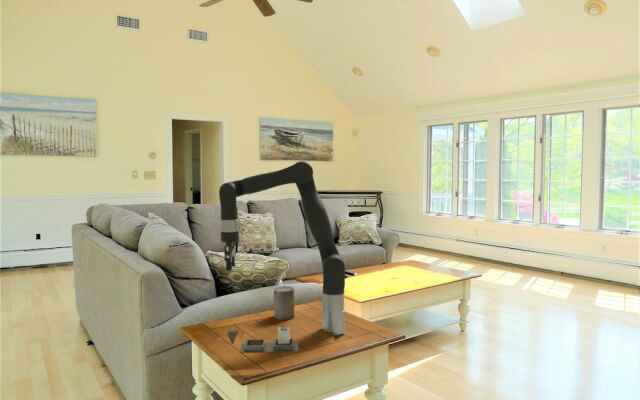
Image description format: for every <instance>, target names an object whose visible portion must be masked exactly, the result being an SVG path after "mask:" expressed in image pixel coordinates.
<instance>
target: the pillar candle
mask: <svg viewBox="0 0 640 400" xmlns="http://www.w3.org/2000/svg"><path fill="white" fill-rule="evenodd" d="M273 308H274V309H273V311H274V312H273V313H274V316H273V317H274V318H275V319H276V320H279V321H287V320H290V319H293V318H295V288H294V287H293V286H290V285H287V286H285V285H283V286H282V285H280V286H277V287H273Z"/></svg>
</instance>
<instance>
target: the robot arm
mask: <svg viewBox="0 0 640 400" xmlns="http://www.w3.org/2000/svg"><path fill="white" fill-rule="evenodd" d="M289 184H290V185H291V184H295V185H296V187H297V189H298V192H299V194H300V198H301V204H302V208H303V213H304V215H305V219H306V222H307V225H308V228H309V231H310V233H311V235H312V237H313V239H314V241H315V243H316V245H317V248H318V251H319V254H320V255H319V256H320V260H321V267H322V330H323V331H324V332H328V333H332V335H333V336H339V335H345V334H346V333H345V331H346V329H345V328H346V326H345V325H346V324H345V323H346V314H345V313H346V312H345V311H346V310H345V286H346V265H345V262H344V260H343V258H342V256H341V254H340V253H339V250H338V249H337V246H336V243H335V239H334V237H333V229H332V224H331V221H330V219H329V215H328V211H327V208H326V207H325V205H324V202H323V200H322V198H321V196H320V194H319V192H318V190H317V188H316V187H317V186H316V183H315V179H314V169H313V166H312V165H311V164H310V163H309V162H307V161H304V160H299V161H297V162H295V163H293V164H291V165H290V166H287V167H286V168H285V167H284V168H282V169H280V170H279V169H278V170H275V171H270V172H266V173H260V174H256V175H252V176H249V177H245V178H242V179H239V180H233V181H228V182H224V183H222V185H221V186H220V187H219V191H218V193H219V195H218V196H219V197H218V198H219V203H220V225H219V226H220V242H221V243H225V246H224V259H223V261H225V269H226V270H225V271H226V272H231V271H232V270H233V269H232V267H233V268H234V267H235V266H236V261H235V260H236V255H237V253H236V252H237V251H236V250H237V248H236V243H237V242H239V241H240V227H239V225H240V224H239V210H238V207H237V198H239V197H242V196H245V195H252V194H256V193H259V192H263V191H267V190H270V189H273V188H276V187H280V186H285V185H289Z"/></svg>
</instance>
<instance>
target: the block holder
mask: <svg viewBox="0 0 640 400" xmlns="http://www.w3.org/2000/svg"><path fill="white" fill-rule="evenodd" d="M267 352H268V353H271V352H273V353H274V352H275V353H277V352H280V353H281V352H299V342H298V341H296V342H295V338H290V345H278V338H274V340H273V342H267V339H266V338H254V339H253V338H252V339H251V338H250V339H249V338H248V339H245V342H244V343H241V345H240V349H239V353H267Z"/></svg>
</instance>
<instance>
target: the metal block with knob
mask: <svg viewBox="0 0 640 400" xmlns="http://www.w3.org/2000/svg"><path fill="white" fill-rule="evenodd" d="M277 339H278V345H290V339H291V328H290V326H278V327H277Z"/></svg>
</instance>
